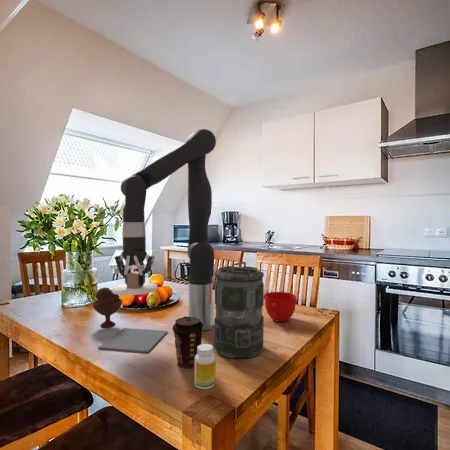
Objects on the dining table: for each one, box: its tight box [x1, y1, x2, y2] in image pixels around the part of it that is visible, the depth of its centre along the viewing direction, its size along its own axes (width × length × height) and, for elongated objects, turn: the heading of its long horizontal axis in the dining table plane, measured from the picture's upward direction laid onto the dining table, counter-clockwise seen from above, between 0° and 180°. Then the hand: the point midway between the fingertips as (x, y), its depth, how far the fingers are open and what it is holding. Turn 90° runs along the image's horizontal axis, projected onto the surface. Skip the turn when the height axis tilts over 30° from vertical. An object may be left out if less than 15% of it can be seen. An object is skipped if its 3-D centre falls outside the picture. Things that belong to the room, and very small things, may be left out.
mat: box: [97, 327, 168, 354], centre depth 104 cm, size 17×17×1 cm
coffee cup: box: [172, 315, 203, 371], centre depth 87 cm, size 9×8×13 cm
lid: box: [111, 271, 159, 296], centre depth 104 cm, size 15×15×6 cm
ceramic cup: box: [264, 291, 297, 322], centre depth 124 cm, size 13×17×10 cm
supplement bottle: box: [193, 343, 217, 390], centre depth 77 cm, size 5×5×10 cm
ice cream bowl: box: [91, 287, 124, 329], centre depth 118 cm, size 11×11×15 cm
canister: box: [213, 261, 265, 359], centre depth 97 cm, size 16×16×28 cm
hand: (135, 285), depth 104 cm, fingers closed on lid, 4 cm apart
